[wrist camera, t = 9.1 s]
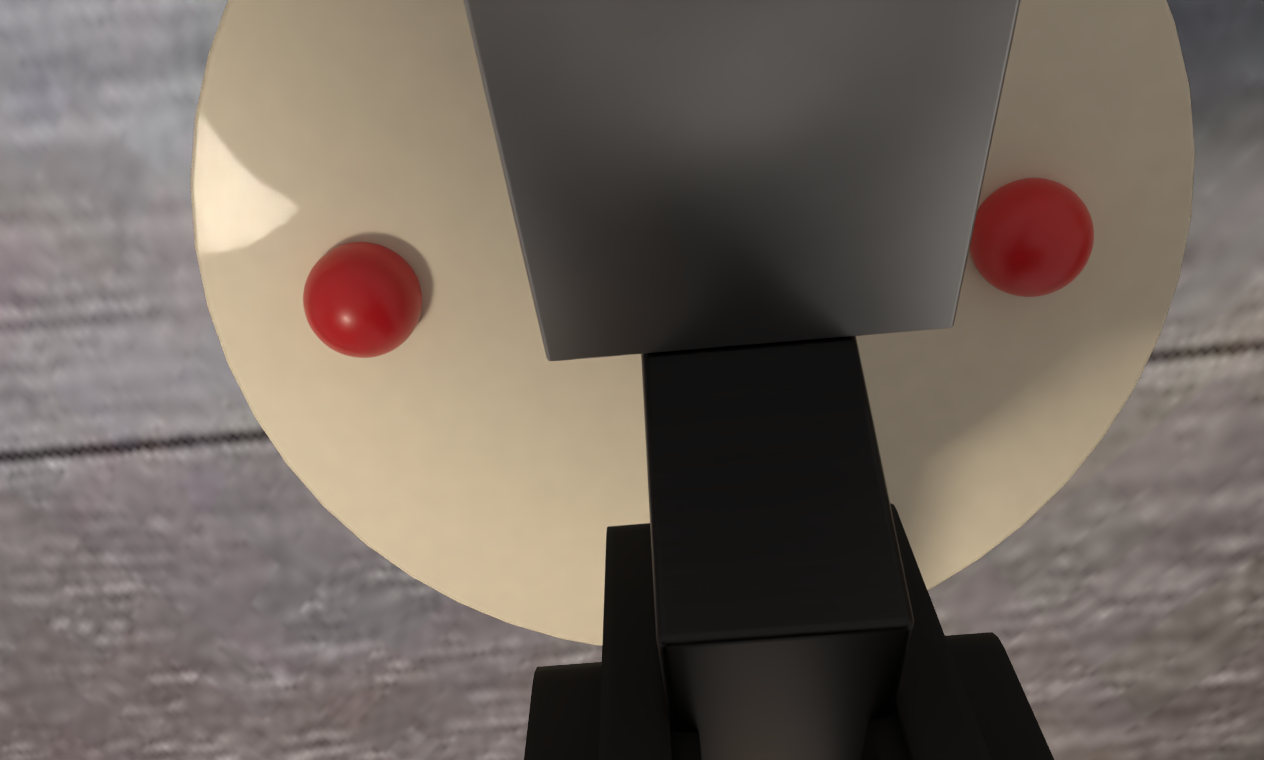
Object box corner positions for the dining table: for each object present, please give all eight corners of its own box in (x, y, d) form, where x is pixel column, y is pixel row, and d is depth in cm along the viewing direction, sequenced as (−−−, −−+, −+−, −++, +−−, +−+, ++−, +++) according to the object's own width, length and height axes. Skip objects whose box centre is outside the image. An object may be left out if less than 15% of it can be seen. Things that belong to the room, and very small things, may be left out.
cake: (223, -227, 16) (6, -250, 11) (1066, -319, 16) (1320, -394, 10) (383, 484, 22) (296, 730, 16) (1019, 428, 21) (1169, 659, 16)
